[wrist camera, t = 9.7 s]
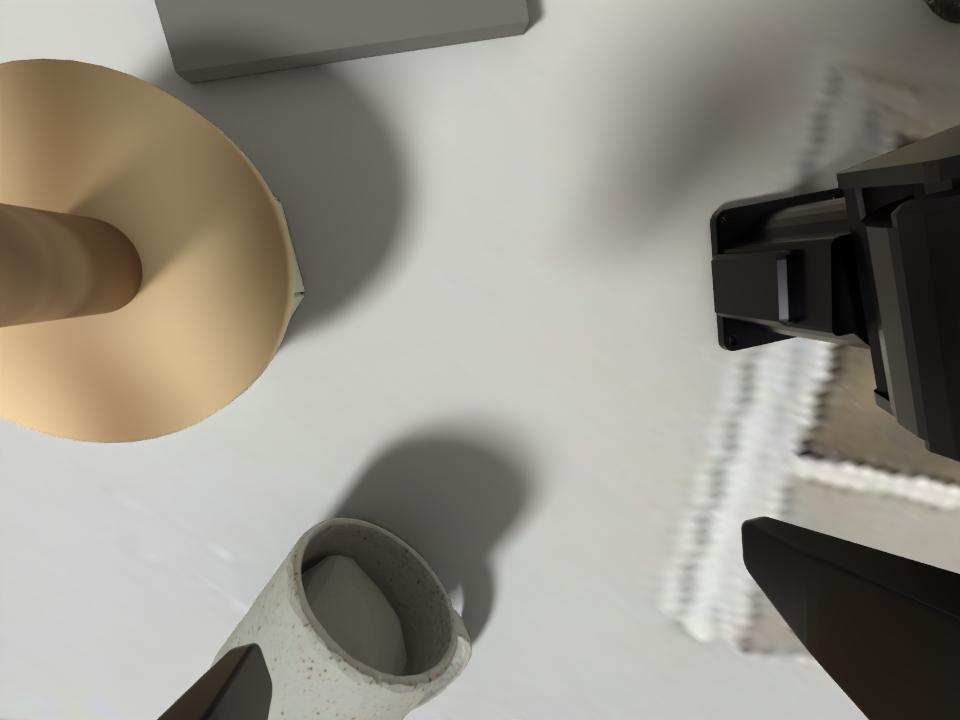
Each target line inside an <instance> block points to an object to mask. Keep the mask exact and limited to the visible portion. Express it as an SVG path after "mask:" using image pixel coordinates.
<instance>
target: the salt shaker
mask: <svg viewBox="0 0 960 720" xmlns="http://www.w3.org/2000/svg"><path fill="white" fill-rule="evenodd" d="M925 1H926V2H927V4H928V5H929V7H930V8H931V9H932V11H933V12H934V13H936V14H937V15H938V16H940V17H941V18H942V19H944V20H947V21H950V22H953V23H960V0H925Z"/></svg>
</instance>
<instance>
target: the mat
mask: <svg viewBox="0 0 960 720" xmlns="http://www.w3.org/2000/svg"><path fill="white" fill-rule="evenodd" d="M155 4H156V7H157V10H158V14H159V17H160V20H161V24H162V27H163V30H164V34H165V37H166V40H167V44H168V47H169V50H170V54H171V57H172V60H173V64H174V67H175V70H176V72H177V73H178V74H179V75H180V76H181V77H183V78H184V79H185V80H186V81H188V82H189V83H196V82H203V81H210V80H216V79H223V78H230V77H237V76H244V75H250V74H257V73H264V72H271V71H278V70H284V69H291V68H298V67H305V66H312V65H318V64H325V63H332V62H339V61H346V60H352V59H359V58H366V57H373V56H380V55H386V54H393V53H400V52H407V51H414V50H420V49H427V48H434V47H441V46H448V45H454V44H461V43H468V42H475V41H482V40H488V39H495V38H502V37H509V36H516V35H522V34H524V32H525V30H526V27H527V25H528V23H529V16H528V9H527V2H526V0H155Z"/></svg>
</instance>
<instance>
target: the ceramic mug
mask: <svg viewBox="0 0 960 720" xmlns="http://www.w3.org/2000/svg"><path fill="white" fill-rule="evenodd" d="M250 643H256V644H258V645H259V646H260V648H261V650H262V653H263V656H264V659H265V662H266V665H267V668H268V671H269V674H270V677H271V680H272V689H273V690H272V699H271V705H270V710H269V716H268V720H403V718H404V717H405V716H406V715H407V714H408V713H409V712H410V711H411V710H413V709H415V708H418V707H420V706H422V705H423V704H425V703H427V702H428V701H430V700H431V699H433V698H434V697H436V696H437V695H439V694H440V693H441V692H443V691H444V690H445V689H446V688H447V687H448V686H449V685H450V684H451V683H452V682H453V681H454V680H455V679H456V678H457V677H458V676H459V675H460V674H461V672H462V671H463V670H464V668H465V667H466V665H467V663H468V662H469V660H470V657H471V653H472V647H471V641H470V637H469V635H468V633H467V630H466V628H465V625H464V623H463V621H462V618H461V617H460V615H459V614H458V613H457V611H456V610H454V609H453V607H452V604H451V601H450V599H449V596H448V594H447V592H446V591H445V589H444V587H443V584H442V583H441V582H440V580H439V579H438V577H437V576H436V574H435V572H434V571H433V570H432V569H431V568H430V566H429V565H428V564H427V563H426V561H425V560H424V559H423V558H422V557H421V556H420V555H419V554H418V553H417V552H416V551H415V550H414V549H413V548H411V547H410V546H409V545H408V544H407V543H405V542H404V541H402V540H401V539H400V538H398V537H397V536H395V535H394V534H392V533H391V532H389V531H387V530H385V529H384V528H382V527H378V526H377V525H375V524H372V523H369V522H366V521H363V520H360V519H352V518H333V519H329V520H326V521H323V522H321V523H319V524H317V525H315V526H313V527H312V528H311V529H309V530H308V531H307V532H305V533H304V534H303V536H302V537H301V538H300V539H299V541H298V542H297V543H296V544H295V546H294V547H293V549H292V550H291V552H290V553H289V555H288V556H287V557H286V559H285V560H284V562H283V563H282V565H281V566H280V567H279V569H278V570H277V572H276V573H275V574H274V576H273V577H272V578H271V580H270V581H269V583H268V584H267V585H266V587H265V588H264V589H263V591H262V592H261V593H260V595H259V596H258V597H257V599H256V600H255V602H254V603H253V605H252V607H251V608H250V610H249V611H248V613H247V614H246V615H245V617H244V618H243V619H242V621H241V622H240V623H239V624H238V626H237V627H236V628H235V630H234V631H233V633H232V634H231V635H230V637H229V638H228V639H227V641H226V642H225V644H224V645H223V646H222V648H221V649H220V651H219V652H218V654H217V656H216V657H215V659H214V661H213V663H212V666H213V665H214V664H215V663H216V662H217V661H219V660H220V659H221V658H222V657H223V656H224V655H225V654H226V653H227V652H228V651H229V650H230V649H232V648H234V647H238V646H242V645H246V644H250ZM212 666H211V667H212Z"/></svg>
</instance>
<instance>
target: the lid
mask: <svg viewBox="0 0 960 720" xmlns="http://www.w3.org/2000/svg"><path fill="white" fill-rule="evenodd" d="M294 287H295V272H294V258H293V252H292V247H291V243H290V238H289V233H288V230H287V228H286V225H285V222H284V219H283V216H282V213H281V211H280V209H279V207H278V204H277V202H276V200H275V198H274V196H273V194H272V192H271V190H270V189H269V187H268V185H267V184H266V182H265V181H264V179H263V178H262V176H261V175H260V173H259V172H258V170H257V169H256V167H255V166H254V165H253V164H252V162H251V161H250V160H249V159H248V158H247V156H246V155H245V154H244V153H243V152H242V150H241V149H240V148H239V147H238V146H237V145H236V144H235V143H234V142H233V141H232V140H230V139H229V138H228V137H227V136H226V135H225V134H224V133H223V132H222V131H221V130H220V129H218V128H217V127H216V126H214V125H213V124H212V123H211V122H209V121H208V120H207V119H205V118H204V117H203V116H201V115H200V114H199V113H197V112H196V111H194V110H193V109H192V108H190V107H189V106H187V105H186V104H185V103H183V102H182V101H180V100H178V99H177V98H175V97H173V96H171V95H170V94H168V93H166V92H165V91H163V90H161V89H160V88H158V87H156V86H154V85H152V84H149V83H147V82H145V81H143V80H140V79H138V78H136V77H134V76H132V75H129V74H126V73H123V72H119V71H116V70H113V69H110V68H107V67H104V66H99V65H94V64H89V63H83V62H78V61H73V60H56V59H32V60H19V61H11V62H6V63H2V64H0V417H2V418H4V419H6V420H9V421H11V422H14V423H16V424H18V425H21V426H23V427H26V428H28V429H31V430H34V431H38V432H41V433H44V434H48V435H51V436H55V437H60V438H65V439H71V440H76V441H84V442H97V443H121V442H135V441H141V440H147V439H154V438H158V437H161V436H165V435H168V434H172V433H175V432H178V431H181V430H183V429H185V428H188V427H190V426H192V425H195V424H197V423H199V422H201V421H203V420H204V419H206V418H208V417H209V416H211V415H213V414H215V413H216V412H218V411H219V410H221V409H222V408H224V407H225V406H227V405H228V404H229V403H231V402H232V401H233V400H235V399H236V398H237V397H238V396H240V395H241V394H242V393H244V392H245V391H246V390H247V389H248V388H249V387H250V386H251V385H252V384H253V383H254V382H255V381H256V380H257V379H258V378H259V377H260V376H261V374H262V373H263V372H264V370H265V369H266V368H267V366H268V365H269V363H270V362H271V361H272V359H273V358H274V356H275V354H276V352H277V350H278V348H279V346H280V344H281V342H282V341H283V338H284V335H285V332H286V329H287V327H288V324H289V321H290V316H291V311H292V306H293V301H294Z"/></svg>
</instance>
